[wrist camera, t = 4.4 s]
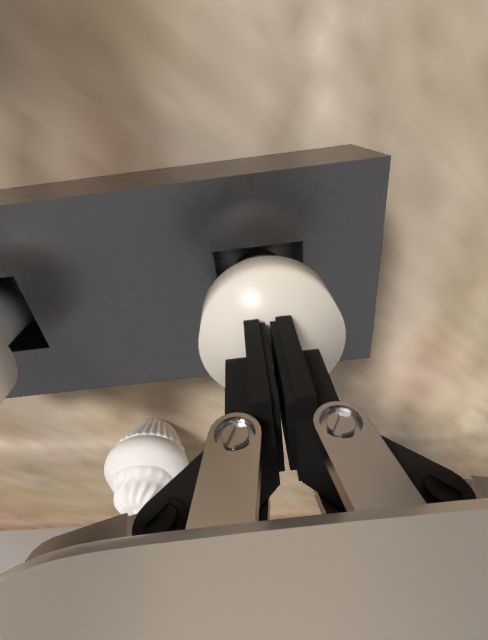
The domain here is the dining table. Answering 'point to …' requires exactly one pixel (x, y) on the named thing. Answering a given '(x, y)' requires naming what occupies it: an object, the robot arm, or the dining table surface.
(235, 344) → the knob
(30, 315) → the knob
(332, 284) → the mount
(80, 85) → the dining table surface
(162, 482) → the white ribbed round lump
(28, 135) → the dining table surface
